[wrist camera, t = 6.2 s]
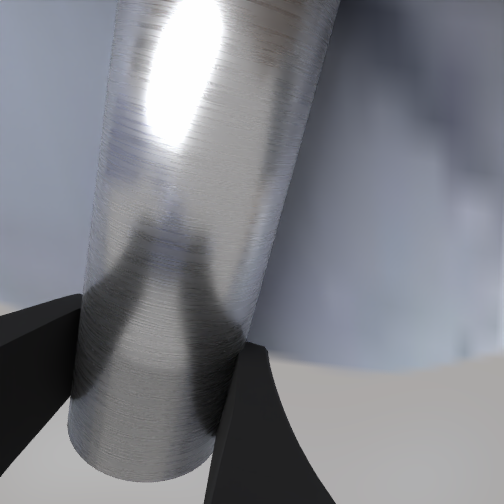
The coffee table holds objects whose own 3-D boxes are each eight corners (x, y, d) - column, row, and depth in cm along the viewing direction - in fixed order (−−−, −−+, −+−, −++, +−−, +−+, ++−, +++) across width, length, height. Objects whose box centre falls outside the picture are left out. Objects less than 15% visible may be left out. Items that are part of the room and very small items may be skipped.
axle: (231, 391, 13) (201, 503, 9) (110, 356, 13) (32, 452, 10) (354, -49, 9) (385, -163, 5) (178, -93, 9) (91, -232, 6)
